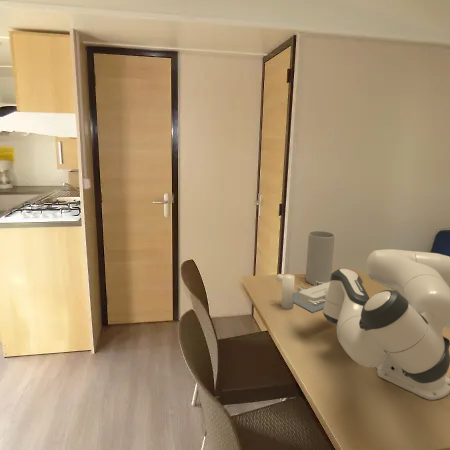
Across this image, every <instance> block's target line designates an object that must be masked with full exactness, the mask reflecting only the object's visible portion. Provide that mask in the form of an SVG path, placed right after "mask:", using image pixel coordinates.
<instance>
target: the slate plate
mask: <svg viewBox="0 0 450 450" xmlns="http://www.w3.org/2000/svg"><path fill="white" fill-rule="evenodd" d="M293 304H295V305H297V306H299V307H301V308H302V309H304V310H306V311H308V312H309V313H312V314H313V313H314V314H315V313H316V312H319V311H323V308H324V303H323V304H320V305H317V306H311V305H308V304H306V303H303V302H301V301H299V292H298V291H296V292H294V297H293Z"/></svg>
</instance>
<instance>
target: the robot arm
mask: <svg viewBox="0 0 450 450" xmlns="http://www.w3.org/2000/svg"><path fill="white" fill-rule="evenodd" d="M365 270H366V273H367V276H368V277H369V279H370V280H371V281H372V282H376V283H379V284H380V285H384V286H386V287H387V288H389V289H387V290H386V289H385V290H382V291H379V292H377V293H375V294H373V295H372V296H371V297H370V296H369V294H368V292H367V291H366V288H365V287H364V286H363V279H362V277H361V276H360V275H359V274H358V273H357V272H355V271H353V270H351V269H349V268H338V269H336V270H335V271H333V272H332V273H331V279H330V282H327V283H322V282H318V281H315V282H314V284H313V285H312V287H307V288H308V289H305V288H304V287H303V286H301V285H300V286H297V287H296V290H297V291H296V292H299V301H301V302H303V303H306V304H308V305H311V306H317V305H320V304H323V303H324V308H323V310H322V314H323V316H324V318H325V319H326V321H328V322H330V323H332V324H334V325H335V326H336V335H337V337H336V338H337V340H338V342H339V343H340V345H341V347H342V349H343V350H344V352H345V353H346V355H348V356H349V357H350V359H352V360H353V361H354V362H356V364H358V365H360V366H362V367H365V368H368V369H369V368H376V370H377V376H378V377H379V378H382V379H384V380H386V381H388V382H390V383H391V384H394V385H396V386H398V387H400V388H402V389H405V390H406V391H408V392H410V393H413V394H415V395H417V396H419V397H421V398H424V399H426V400H430V401H431V400H432V401H434V400H440V399H443V398H444V397H446V396H448V395H449V394H450V378H449V377H448V376H447V373H448V371H449V369H450V350H449V349H450V339H448V338H447V337H445V336H444V335H443V330H444V329H445V328H446V327H448V326H450V256H448V255H445V254H441V253H438V252H437V253H436V252H427V251H425V252H424V251H415V250H413V251H412V250H406V249H405V250H403V249H394V248H387V249H377V250H376V249H375V250H373V251H372V252H371V253H370V254H369V255H368V257H367V259H366V261H365ZM303 289H304V290H303ZM390 289H391V290H390Z"/></svg>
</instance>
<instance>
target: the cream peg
mask: <svg viewBox="0 0 450 450" xmlns="http://www.w3.org/2000/svg"><path fill="white" fill-rule="evenodd" d="M295 277H296V276H295V275H294V274H289V273H285V274H281V273H278V274H277V275H276V277H275V278H276V281H277V282H280V283H281V285H282V286H281V287H282V288H281V303H280V307H281V308H282V309H284V310H291V309H293V308H294V303H293V297H294V293H295V282H296V281H295V280H296V278H295Z"/></svg>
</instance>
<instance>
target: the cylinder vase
mask: <svg viewBox="0 0 450 450" xmlns="http://www.w3.org/2000/svg"><path fill="white" fill-rule="evenodd" d="M335 237H336V234H335V233H333V232H330V231H325V230H311V231H309V232H308V240H307V252H306V253H307V255H306V267H305V282H307V283H308V284H310V285H312V286H314V285H313V284H314V282H315V281H318V282H322V283H327V282H330V279H331V274H332V273H333V272H332V271H333V260H334V248H335V239H336V238H335Z"/></svg>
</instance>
